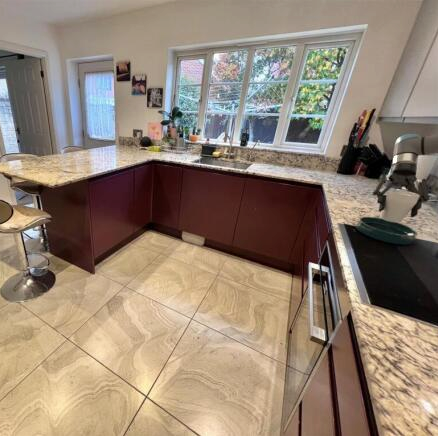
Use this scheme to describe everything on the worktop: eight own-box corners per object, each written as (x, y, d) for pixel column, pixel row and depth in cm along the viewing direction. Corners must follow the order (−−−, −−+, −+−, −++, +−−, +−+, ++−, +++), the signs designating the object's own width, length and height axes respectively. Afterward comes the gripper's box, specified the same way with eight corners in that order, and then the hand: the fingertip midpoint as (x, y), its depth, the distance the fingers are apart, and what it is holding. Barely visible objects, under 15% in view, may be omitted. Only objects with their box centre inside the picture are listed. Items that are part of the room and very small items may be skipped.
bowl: (418, 239, 98) (424, 230, 96) (401, 249, 90) (407, 239, 88) (365, 222, 112) (370, 214, 110) (347, 229, 104) (351, 220, 102)
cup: (410, 226, 93) (426, 197, 88) (382, 221, 95) (396, 194, 90) (397, 217, 100) (411, 191, 95) (371, 213, 103) (384, 188, 98)
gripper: (433, 176, 97) (428, 223, 92) (367, 168, 107) (359, 210, 102) (447, 165, 91) (442, 215, 85) (375, 158, 101) (367, 202, 95)
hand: (397, 212), depth 94 cm, fingers closed on cup, 9 cm apart
